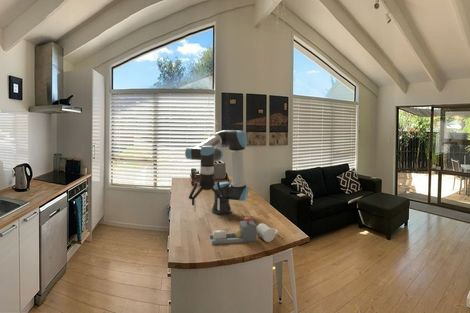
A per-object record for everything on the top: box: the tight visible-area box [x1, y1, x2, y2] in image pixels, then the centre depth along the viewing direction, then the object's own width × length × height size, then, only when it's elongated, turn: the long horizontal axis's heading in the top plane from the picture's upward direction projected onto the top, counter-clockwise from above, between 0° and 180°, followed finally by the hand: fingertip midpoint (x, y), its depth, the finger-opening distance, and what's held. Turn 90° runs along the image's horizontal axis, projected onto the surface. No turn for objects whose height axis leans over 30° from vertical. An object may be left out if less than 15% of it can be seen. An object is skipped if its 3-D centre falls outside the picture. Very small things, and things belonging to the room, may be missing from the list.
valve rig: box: [209, 216, 258, 245], centre depth 159 cm, size 10×26×13 cm, turn 102°
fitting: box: [212, 229, 227, 240], centre depth 157 cm, size 6×7×6 cm
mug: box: [256, 223, 279, 243], centre depth 164 cm, size 12×10×8 cm
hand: (206, 210), depth 154 cm, fingers open, 13 cm apart
